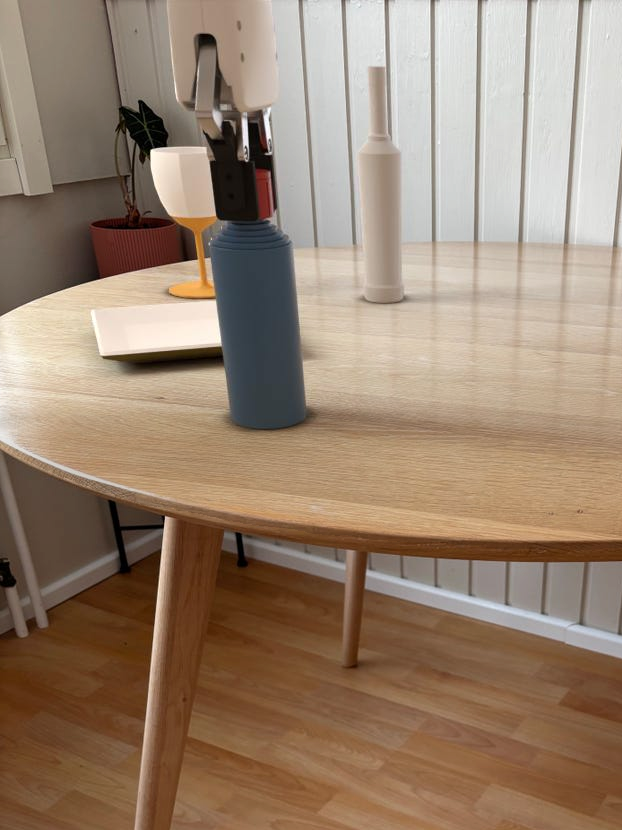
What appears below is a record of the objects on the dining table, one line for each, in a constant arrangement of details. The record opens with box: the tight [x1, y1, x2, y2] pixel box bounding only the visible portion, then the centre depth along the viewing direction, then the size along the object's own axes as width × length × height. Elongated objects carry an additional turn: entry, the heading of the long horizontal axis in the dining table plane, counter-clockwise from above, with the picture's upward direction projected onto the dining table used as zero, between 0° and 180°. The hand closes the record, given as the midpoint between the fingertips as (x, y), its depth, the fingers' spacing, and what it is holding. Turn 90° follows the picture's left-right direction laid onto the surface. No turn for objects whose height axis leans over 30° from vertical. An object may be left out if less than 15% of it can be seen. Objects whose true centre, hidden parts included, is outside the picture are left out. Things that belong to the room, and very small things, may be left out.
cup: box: [150, 146, 218, 299], centre depth 116 cm, size 9×9×16 cm
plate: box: [90, 300, 223, 364], centre depth 99 cm, size 19×19×2 cm
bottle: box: [356, 65, 405, 304], centre depth 111 cm, size 5×5×25 cm
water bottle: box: [208, 219, 308, 430], centre depth 76 cm, size 6×6×18 cm
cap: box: [255, 169, 276, 220], centre depth 71 cm, size 4×4×3 cm
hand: (247, 212), depth 72 cm, fingers closed on cap, 3 cm apart
